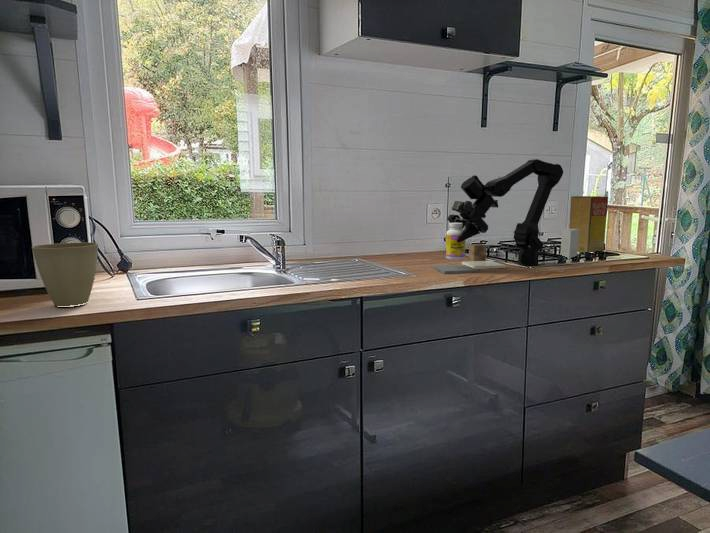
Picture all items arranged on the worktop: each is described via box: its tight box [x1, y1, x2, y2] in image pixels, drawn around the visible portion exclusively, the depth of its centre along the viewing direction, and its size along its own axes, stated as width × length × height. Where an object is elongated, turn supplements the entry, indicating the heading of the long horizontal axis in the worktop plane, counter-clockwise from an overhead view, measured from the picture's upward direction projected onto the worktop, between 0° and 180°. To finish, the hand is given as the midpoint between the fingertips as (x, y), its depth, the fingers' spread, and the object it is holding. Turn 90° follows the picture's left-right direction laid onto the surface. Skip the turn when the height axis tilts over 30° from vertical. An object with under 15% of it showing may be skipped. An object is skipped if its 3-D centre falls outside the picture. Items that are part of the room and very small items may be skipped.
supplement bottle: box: [445, 222, 466, 261], centre depth 175 cm, size 7×7×13 cm
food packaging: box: [568, 195, 609, 253], centre depth 218 cm, size 13×9×25 cm
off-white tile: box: [461, 260, 506, 270], centre depth 185 cm, size 12×12×1 cm
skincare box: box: [559, 228, 579, 260], centre depth 201 cm, size 6×4×12 cm
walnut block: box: [468, 243, 487, 261], centre depth 195 cm, size 5×5×7 cm
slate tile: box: [432, 264, 478, 275], centre depth 176 cm, size 12×12×1 cm
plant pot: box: [31, 242, 99, 306], centre depth 128 cm, size 15×15×16 cm
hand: (452, 240), depth 174 cm, fingers closed on supplement bottle, 7 cm apart
